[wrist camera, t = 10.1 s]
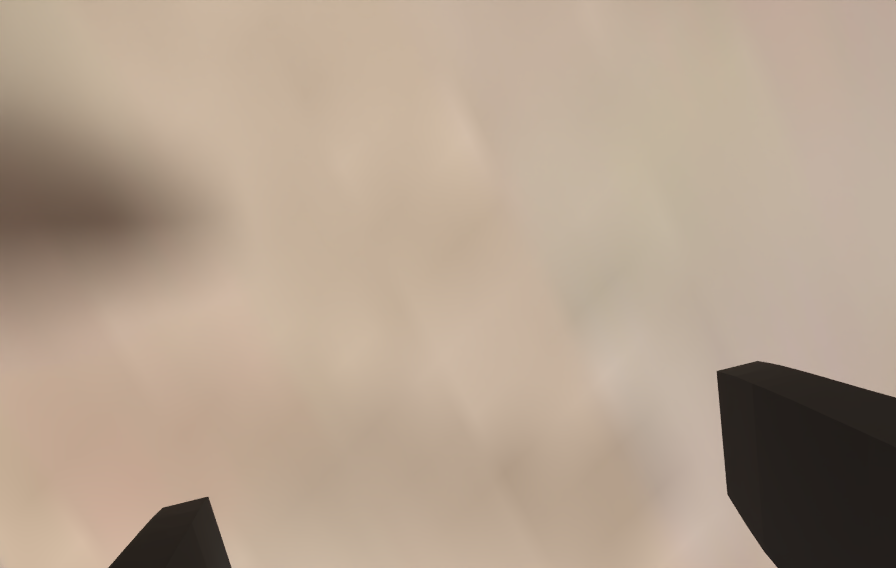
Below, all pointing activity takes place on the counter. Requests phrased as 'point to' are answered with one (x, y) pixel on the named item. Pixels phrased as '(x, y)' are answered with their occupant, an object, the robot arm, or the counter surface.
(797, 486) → the robot arm
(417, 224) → the counter surface
